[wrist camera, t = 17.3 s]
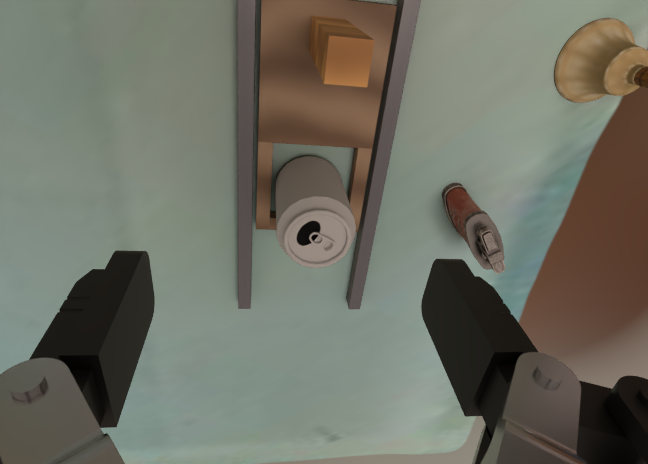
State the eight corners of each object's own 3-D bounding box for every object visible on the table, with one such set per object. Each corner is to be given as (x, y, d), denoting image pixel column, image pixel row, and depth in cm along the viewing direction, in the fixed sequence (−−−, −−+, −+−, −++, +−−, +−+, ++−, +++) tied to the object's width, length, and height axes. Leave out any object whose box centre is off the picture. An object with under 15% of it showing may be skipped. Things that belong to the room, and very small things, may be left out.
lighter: (481, 226, 54) (520, 275, 46) (457, 238, 55) (491, 288, 46) (462, 177, 50) (501, 220, 42) (436, 190, 51) (469, 236, 42)
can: (297, 140, 45) (305, 190, 35) (353, 173, 48) (375, 228, 38) (263, 194, 48) (261, 255, 38) (317, 222, 51) (329, 285, 41)
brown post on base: (355, 225, 52) (381, 302, 40) (256, 222, 50) (252, 301, 38) (392, 4, 39) (445, 21, 27) (261, -11, 37) (258, 1, 26)
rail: (357, 299, 58) (359, 309, 57) (239, 298, 56) (238, 308, 54) (417, -19, 38) (424, -18, 37) (239, -41, 36) (237, -41, 34)
